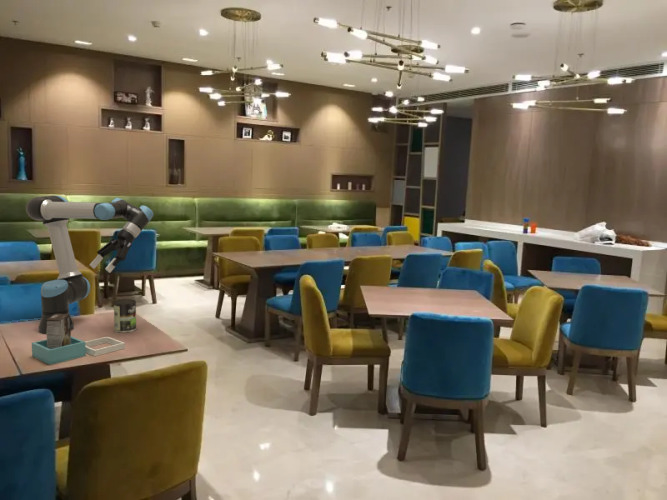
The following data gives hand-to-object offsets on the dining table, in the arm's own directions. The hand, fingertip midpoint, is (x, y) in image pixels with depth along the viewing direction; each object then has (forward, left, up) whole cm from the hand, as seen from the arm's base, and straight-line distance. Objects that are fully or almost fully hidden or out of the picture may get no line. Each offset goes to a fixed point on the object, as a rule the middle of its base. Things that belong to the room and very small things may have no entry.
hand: (99, 269), depth 254 cm
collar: (+14, -8, -33) cm, 36 cm away
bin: (+10, -25, -33) cm, 42 cm away
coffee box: (+10, -25, -32) cm, 41 cm away
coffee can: (-4, +15, -33) cm, 36 cm away
